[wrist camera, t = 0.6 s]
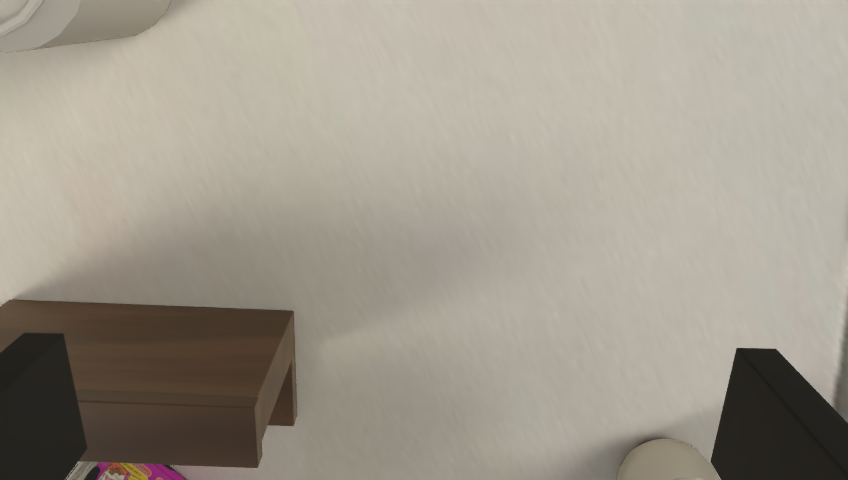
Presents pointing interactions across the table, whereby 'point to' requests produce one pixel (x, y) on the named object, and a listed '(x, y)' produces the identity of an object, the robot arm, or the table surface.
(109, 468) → the candy bar box
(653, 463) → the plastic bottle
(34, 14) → the can
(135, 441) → the wooden box
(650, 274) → the table surface
